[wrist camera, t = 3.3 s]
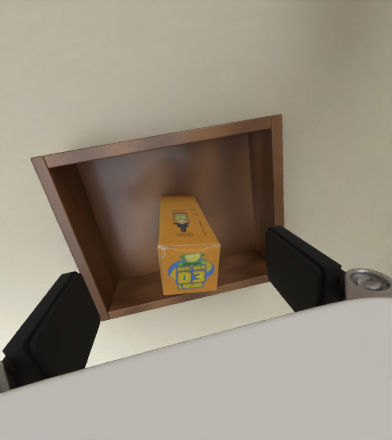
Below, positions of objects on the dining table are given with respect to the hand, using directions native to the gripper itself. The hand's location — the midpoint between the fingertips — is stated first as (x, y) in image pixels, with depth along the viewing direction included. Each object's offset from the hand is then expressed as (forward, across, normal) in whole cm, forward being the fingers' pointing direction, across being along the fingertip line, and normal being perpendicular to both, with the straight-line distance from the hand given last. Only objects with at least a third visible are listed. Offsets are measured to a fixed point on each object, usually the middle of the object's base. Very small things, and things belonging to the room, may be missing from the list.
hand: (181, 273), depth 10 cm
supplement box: (+10, -1, 0) cm, 10 cm away
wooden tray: (+11, -1, 0) cm, 11 cm away
